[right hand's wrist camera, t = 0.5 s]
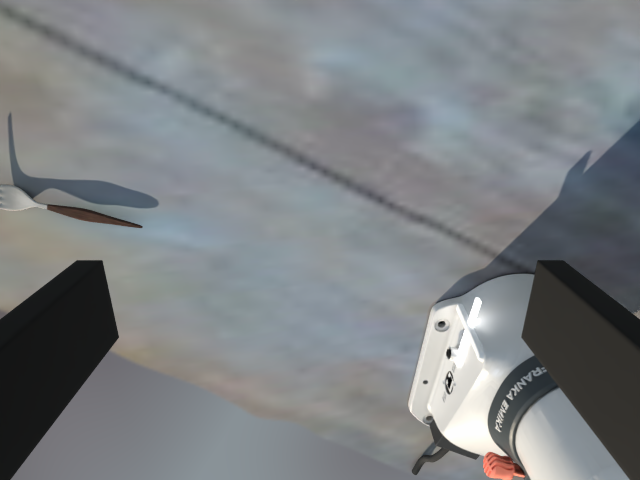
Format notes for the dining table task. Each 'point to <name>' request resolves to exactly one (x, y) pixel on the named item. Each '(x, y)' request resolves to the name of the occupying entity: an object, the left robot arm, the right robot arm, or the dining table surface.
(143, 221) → the dining table surface
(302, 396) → the dining table surface
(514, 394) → the left robot arm
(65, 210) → the fork
